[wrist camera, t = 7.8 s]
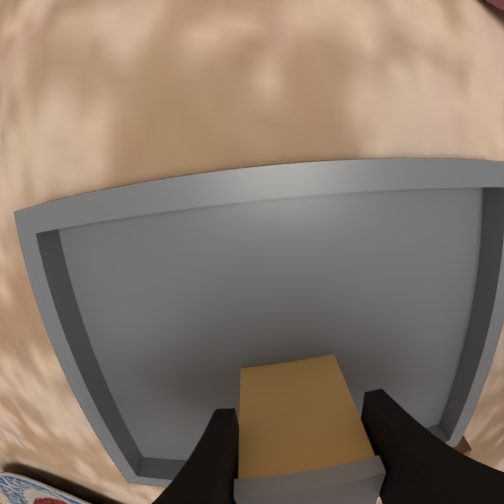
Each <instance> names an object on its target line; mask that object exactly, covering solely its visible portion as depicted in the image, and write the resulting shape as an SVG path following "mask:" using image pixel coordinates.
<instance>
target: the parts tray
mask: <svg viewBox="0 0 504 504" xmlns="http://www.w3.org/2000/svg"><path fill="white" fill-rule="evenodd" d="M14 215H15V221H16V226H17V231H18V236H19V240H20V245H21V249H22V253H23V257H24V261H25V265H26V269H27V273H28V276H29V280H30V283H31V287H32V290H33V293H34V296H35V300H36V303H37V306H38V309H39V312H40V314H41V317H42V320H43V323H44V326H45V328H46V331H47V334H48V336H49V339H50V341H51V344H52V346H53V349H54V351H55V354H56V356H57V358H58V361H59V363H60V365H61V367H62V370H63V372H64V374H65V376H66V378H67V381H68V383H69V385H70V387H71V389H72V391H73V393H74V395H75V397H76V399H77V401H78V403H79V405H80V407H81V408H82V410H83V412H84V414H85V416H86V418H87V419H88V421H89V423H90V425H91V426H92V428H93V430H94V432H95V433H96V435H97V437H98V438H99V440H100V442H101V443H102V445H103V447H104V448H105V450H106V451H107V453H108V454H109V456H110V458H111V459H112V461H113V462H114V464H115V465H116V467H117V468H118V469H119V471H120V472H121V474H122V475H123V477H124V478H125V479H126V481H127V482H128V483H134V484H141V485H148V486H157V487H166V488H167V487H168V485H169V484H170V483H171V482H172V480H173V479H174V478H175V477H176V475H177V474H178V472H179V471H180V470H181V468H182V467H183V465H184V464H185V463H186V461H187V460H188V458H189V457H190V455H191V453H192V452H193V450H194V449H195V447H196V445H197V444H198V442H199V440H200V438H201V437H202V435H203V433H204V431H205V429H206V427H207V425H208V423H209V421H210V419H211V417H212V414H213V412H214V411H215V410H216V409H224V408H235V410H236V415H237V420H238V425H239V416H240V374H241V368H246V367H255V366H263V365H270V364H277V363H284V362H291V361H297V360H304V359H310V358H315V357H321V356H326V355H332V354H334V356H335V358H336V361H337V363H338V365H339V368H340V370H341V373H342V375H343V377H344V380H345V382H346V385H347V387H348V389H349V392H350V394H351V397H352V399H353V402H354V404H355V407H356V409H357V412H358V414H359V417H360V419H361V414H362V407H363V400H364V393H365V392H367V391H372V390H377V389H383V390H384V391H385V392H386V393H387V394H388V395H389V396H390V397H391V398H392V399H393V400H395V401H396V402H397V403H398V404H399V405H400V406H401V407H402V408H403V409H404V410H405V411H406V412H407V413H408V414H410V415H411V416H412V417H413V418H414V419H415V420H417V421H418V422H419V423H420V424H421V425H422V426H424V427H425V428H426V429H427V430H429V431H430V432H431V433H432V434H434V435H435V436H436V437H438V438H439V439H441V440H442V441H443V442H445V443H446V444H448V445H449V446H451V447H455V446H457V445H458V444H459V442H460V440H461V438H462V436H463V434H464V431H465V429H466V427H467V425H468V423H469V421H470V418H471V416H472V414H473V411H474V409H475V407H476V404H477V402H478V399H479V397H480V394H481V392H482V389H483V386H484V384H485V381H486V378H487V375H488V372H489V369H490V366H491V363H492V360H493V357H494V354H495V351H496V347H497V344H498V340H499V337H500V333H501V329H502V325H503V321H504V161H492V160H476V159H451V158H372V159H345V160H326V161H310V162H297V163H284V164H273V165H263V166H253V167H244V168H235V169H227V170H219V171H211V172H203V173H196V174H189V175H183V176H176V177H170V178H163V179H157V180H151V181H146V182H140V183H134V184H129V185H124V186H119V187H113V188H108V189H104V190H99V191H94V192H89V193H85V194H80V195H76V196H71V197H67V198H63V199H59V200H54V201H50V202H46V203H43V204H39V205H35V206H32V207H28V208H25V209H21V210H18V211H15V212H14Z"/></svg>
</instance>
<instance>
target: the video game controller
mask: <svg viewBox="0 0 504 504" xmlns="http://www.w3.org/2000/svg"><path fill="white" fill-rule="evenodd" d="M485 1H487V2H488V3H490V4H492V5H493V6H495V7H497V8H499V9H501V10H503V11H504V0H485Z"/></svg>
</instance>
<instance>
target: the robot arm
mask: <svg viewBox="0 0 504 504" xmlns="http://www.w3.org/2000/svg"><path fill="white" fill-rule="evenodd" d="M361 422H362V424H363V427H364V429H365V432H366V434H367V437H368V439H369V442H370V444H371V447H372V449H373V452H374V455H375V456H378V455H379V456H380V458H381V461H382V463H383V466H384V468H385V471H386V474H385V477H384V480H383V483H382V486H381V489H380V492H379V495H380V498H381V500H382V503H383V504H504V472H502V471H499V470H496V469H494V468H491V467H489V466H487V465H484V464H482V463H480V462H477V461H475V460H473V459H471V458H469V457H467V456H466V455H464V454H462V453H460V452H459V451H457V450H455V449H454V448H452V447H451V446H449V445H448V444H446V443H445V442H443V441H442V440H441V439H439V438H438V437H436V436H435V435H434V434H432V433H431V432H430V431H429V430H427V429H426V428H425V427H424V426H422V425H421V424H420V423H419V422H418V421H417V420H415V419H414V418H413V417H412V416H411V415H410V414H408V413H407V412H406V411H405V410H404V409H403V408H402V407H401V406H400V405H399V404H398V403H397V402H396V401H395V400H393V399H392V398H391V397H390V396H389V395H388V394H387V393H386V392H385V391H384V390H383V389H377V390H372V391H367V392H365V393H364V400H363V407H362V414H361ZM238 465H239V425H238V420H237V415H236V410H235V408H224V409H216V410H215V411H214V412H213V414H212V417H211V419H210V421H209V423H208V425H207V427H206V429H205V431H204V433H203V435H202V437H201V438H200V440H199V442H198V444H197V445H196V447H195V449H194V450H193V452H192V453H191V455H190V457H189V458H188V460H187V461H186V463H185V464H184V465H183V467H182V468H181V470H180V471H179V472H178V474H177V475H176V477H175V478H174V479H173V480H172V482H171V483H170V484H169V485H168V487H167V488H166V489H165V490H164V491H163V492H162V493H161V494H160V496H159V497H158V498H157V499H156V500H155V501H154V502H153V503H152V504H236V502H235V500H234V479H238Z"/></svg>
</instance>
